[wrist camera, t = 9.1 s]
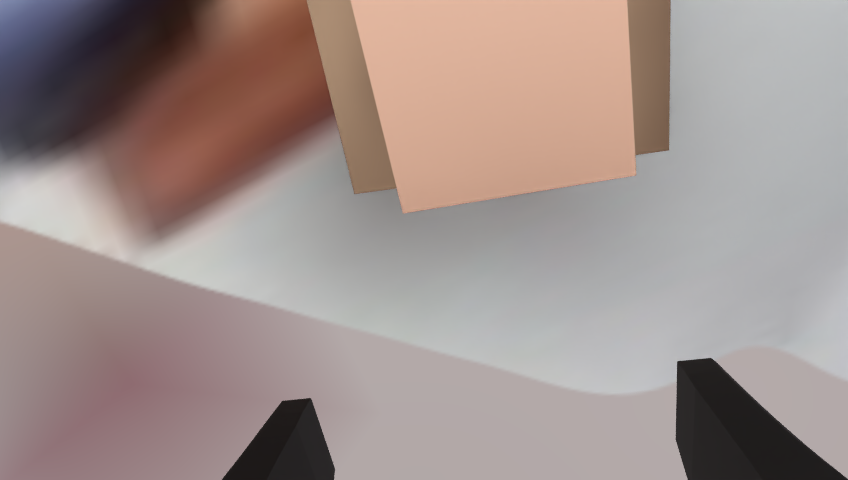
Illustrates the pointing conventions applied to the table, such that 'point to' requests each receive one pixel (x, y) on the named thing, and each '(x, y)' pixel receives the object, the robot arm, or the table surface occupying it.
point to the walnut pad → (361, 114)
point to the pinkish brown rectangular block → (499, 95)
